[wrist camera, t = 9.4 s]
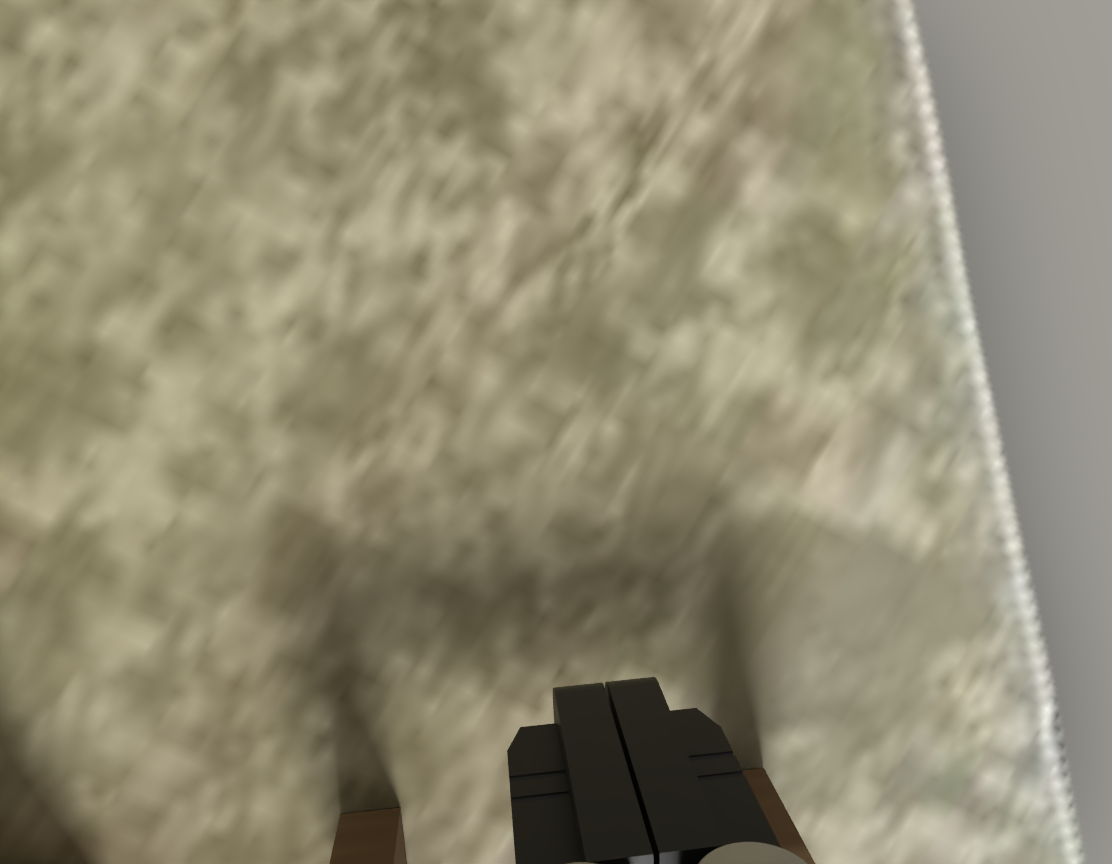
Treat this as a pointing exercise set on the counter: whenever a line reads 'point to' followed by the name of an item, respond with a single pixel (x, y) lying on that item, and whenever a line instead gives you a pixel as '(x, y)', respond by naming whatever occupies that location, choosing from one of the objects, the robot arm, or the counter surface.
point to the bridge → (379, 850)
